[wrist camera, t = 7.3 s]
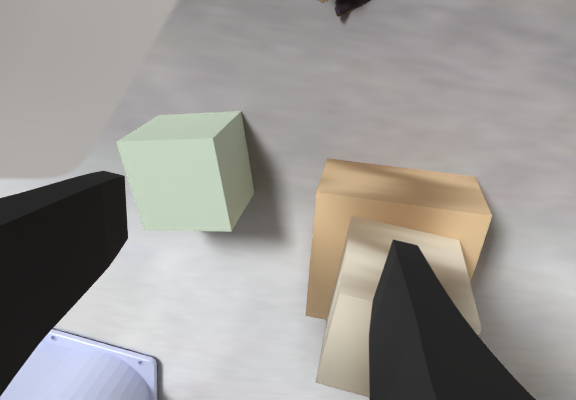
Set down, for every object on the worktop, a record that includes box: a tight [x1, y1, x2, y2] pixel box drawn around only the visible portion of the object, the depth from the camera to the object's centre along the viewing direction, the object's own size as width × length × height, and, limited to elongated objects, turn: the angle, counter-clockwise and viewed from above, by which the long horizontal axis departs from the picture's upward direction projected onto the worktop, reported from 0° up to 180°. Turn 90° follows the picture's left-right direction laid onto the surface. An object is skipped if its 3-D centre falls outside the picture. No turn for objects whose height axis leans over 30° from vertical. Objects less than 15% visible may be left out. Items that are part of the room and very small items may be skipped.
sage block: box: [116, 111, 255, 232], centre depth 21 cm, size 4×4×4 cm
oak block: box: [306, 159, 492, 320], centre depth 21 cm, size 7×7×4 cm
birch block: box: [316, 216, 482, 397], centre depth 17 cm, size 4×4×5 cm
